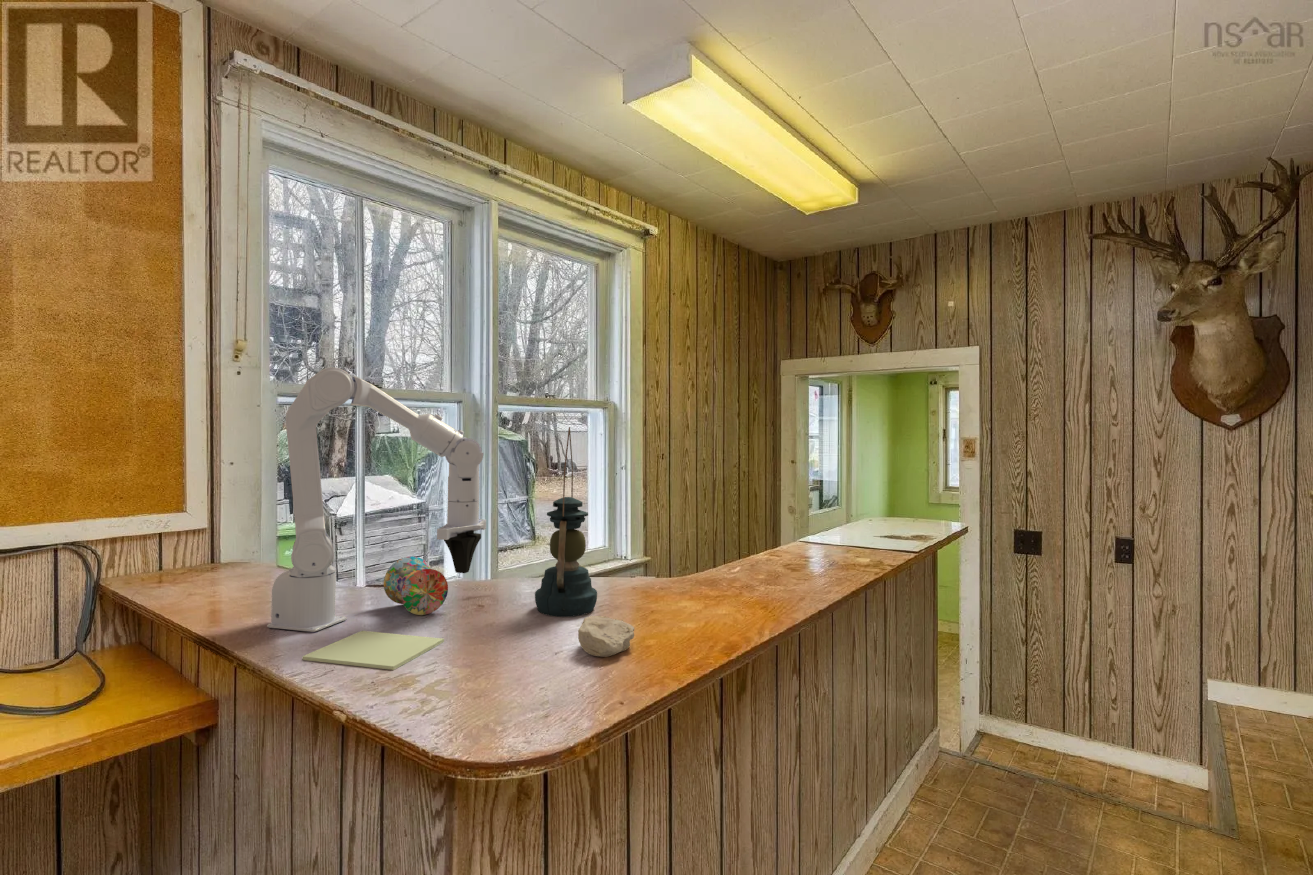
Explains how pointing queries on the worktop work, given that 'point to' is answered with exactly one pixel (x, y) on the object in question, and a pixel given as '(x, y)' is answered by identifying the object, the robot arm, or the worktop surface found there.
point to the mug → (415, 585)
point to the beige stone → (604, 635)
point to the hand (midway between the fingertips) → (462, 572)
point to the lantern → (566, 562)
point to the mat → (374, 650)
